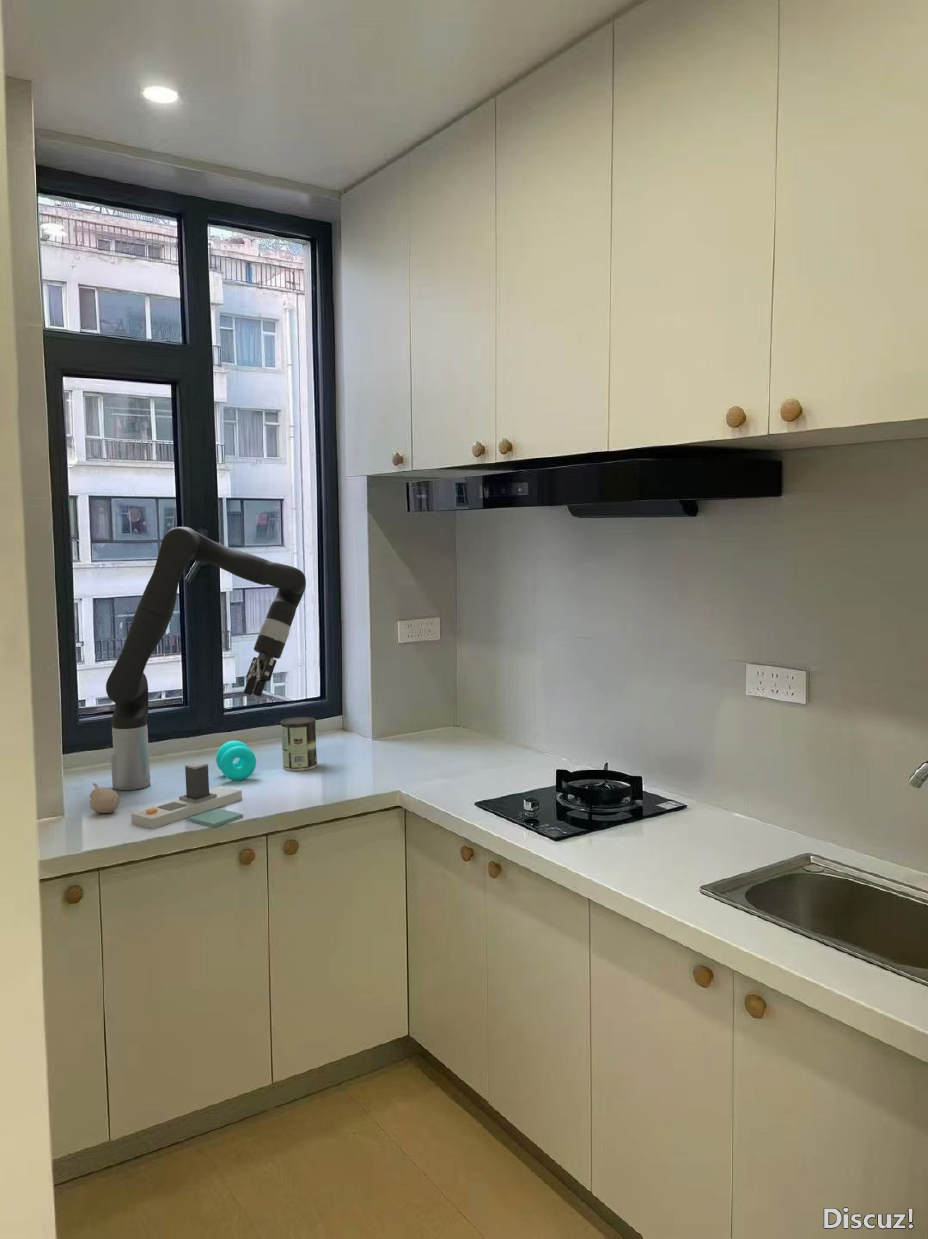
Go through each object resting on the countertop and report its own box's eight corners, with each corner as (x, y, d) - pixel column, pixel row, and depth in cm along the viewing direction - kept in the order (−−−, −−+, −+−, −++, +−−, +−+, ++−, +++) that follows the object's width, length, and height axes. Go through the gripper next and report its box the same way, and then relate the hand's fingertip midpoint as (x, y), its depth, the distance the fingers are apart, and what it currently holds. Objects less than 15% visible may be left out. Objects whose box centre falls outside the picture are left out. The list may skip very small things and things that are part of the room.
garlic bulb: (110, 807, 243) (109, 777, 242) (124, 812, 239) (122, 781, 238) (86, 814, 238) (84, 783, 237) (100, 818, 234) (98, 787, 233)
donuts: (222, 784, 263) (220, 749, 262) (216, 775, 272) (214, 741, 271) (257, 779, 267) (256, 745, 266) (250, 771, 276) (249, 737, 275)
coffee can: (308, 760, 288) (306, 715, 286) (323, 767, 279) (321, 720, 278) (276, 765, 282) (274, 719, 280) (290, 773, 273) (289, 725, 272)
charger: (196, 801, 238) (195, 767, 238) (186, 799, 241) (184, 764, 240) (209, 797, 242) (208, 763, 241) (199, 795, 244) (197, 761, 243)
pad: (213, 827, 226) (213, 823, 226) (189, 820, 231) (189, 817, 231) (242, 817, 233) (242, 814, 233) (218, 811, 238) (218, 808, 238)
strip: (152, 828, 226) (151, 815, 225) (131, 823, 230) (131, 810, 230) (242, 799, 248) (241, 787, 248) (221, 794, 253) (221, 783, 252)
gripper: (252, 634, 260) (231, 689, 257) (267, 632, 248) (246, 691, 244) (276, 643, 263) (256, 698, 260) (293, 642, 251) (272, 700, 247)
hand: (251, 694), depth 252 cm, fingers open, 8 cm apart
